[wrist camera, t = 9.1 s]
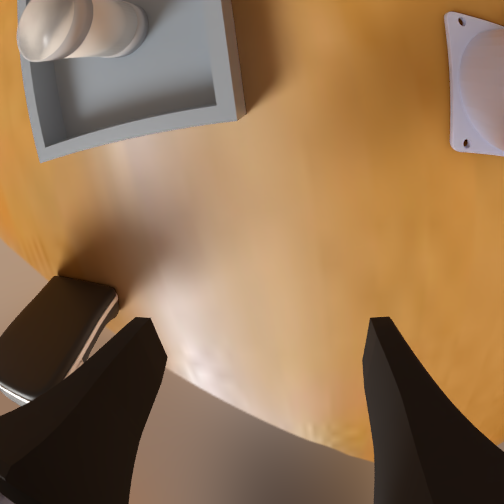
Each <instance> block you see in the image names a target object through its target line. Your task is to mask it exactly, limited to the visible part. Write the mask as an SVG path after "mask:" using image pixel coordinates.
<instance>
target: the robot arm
mask: <svg viewBox="0 0 504 504" xmlns="http://www.w3.org/2000/svg"><path fill="white" fill-rule="evenodd" d="M458 18H459V19H461V20H462V22H463V26H462V25H460V23H459V21H458ZM444 22H445V29H446V38H447V47H448V58H449V73H450V104H451V116H450V145H451V147H452V148H453V149H454V150H456V151H458V152H469V153H479V154H489V155H497V156H504V26H501V25H498V24H495V23H492V22H489V21H486V20H482V19H479V18H476V17H472V16H468V15H465V14H461V13H457V12H447V13H445V15H444ZM466 139H467V142H468V143H467V145H466V146H465V147H464V145H463V143H464V141H465V140H466ZM362 361H363V376H364V389H365V395H366V401H367V407H368V413H369V419H370V425H371V432H372V439H373V446H374V461H375V484H374V485H375V487H374V504H504V452H503V451H502V450H501V449H499V448H498V447H497V446H496V445H495V444H494V443H492V442H491V441H490V440H489V439H488V438H487V437H486V436H485V435H484V434H482V433H481V432H480V431H479V430H478V429H477V428H476V427H475V426H474V425H473V424H472V423H471V422H470V421H469V420H468V419H467V418H466V417H465V416H464V415H463V414H462V413H461V412H460V411H459V410H458V409H457V408H456V406H455V405H454V404H453V403H452V402H451V401H450V400H449V399H448V397H447V396H446V395H445V394H444V393H443V391H442V390H441V389H440V388H439V386H438V385H437V384H436V383H435V381H434V380H433V379H432V377H431V376H430V375H429V373H428V372H427V371H426V369H425V368H424V367H423V365H422V364H421V362H420V361H419V360H418V358H417V357H416V356H415V354H414V353H413V351H412V350H411V348H410V347H409V345H408V344H407V342H406V341H405V340H404V338H403V336H402V335H401V333H400V332H399V330H398V329H397V327H396V326H395V324H394V323H393V321H392V319H391V318H390V317H375V318H370V322H369V328H368V333H367V339H366V344H365V349H364V355H363V360H362ZM166 362H167V355H166V353H165V350H164V348H163V346H162V344H161V341H160V339H159V337H158V335H157V332H156V330H155V327H154V325H153V323H152V320H151V318H142V317H135V318H134V319H133V320H132V321H130V322H129V323H128V324H127V325H126V326H125V327H124V328H122V329H121V330H120V331H119V332H118V333H117V334H116V335H115V336H114V337H113V338H111V339H110V340H109V341H108V342H107V343H106V344H105V345H104V346H103V347H102V348H100V349H99V350H98V351H97V352H96V353H95V354H94V355H93V356H92V357H90V358H89V359H88V360H87V361H86V362H84V363H83V364H82V365H81V366H80V367H79V368H77V369H76V370H75V371H74V372H73V373H71V374H70V375H69V376H68V377H66V378H65V379H64V380H62V381H61V382H60V383H58V384H57V385H55V386H54V387H53V388H51V389H50V390H48V391H47V392H45V393H43V394H42V395H40V396H38V397H37V398H35V399H33V400H32V401H30V402H28V403H27V404H25V405H23V406H21V407H19V408H17V409H15V410H13V411H11V412H8V413H6V414H4V415H2V416H0V504H128V502H129V494H130V486H131V479H132V473H133V468H134V462H135V458H136V454H137V450H138V445H139V441H140V438H141V435H142V432H143V429H144V427H145V424H146V421H147V419H148V416H149V414H150V411H151V408H152V406H153V403H154V401H155V398H156V395H157V393H158V390H159V388H160V385H161V382H162V378H163V374H164V371H165V366H166Z"/></svg>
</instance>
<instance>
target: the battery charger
mask: <svg viewBox="0 0 504 504" xmlns="http://www.w3.org/2000/svg"><path fill="white" fill-rule="evenodd" d="M118 311H119V304H118V296H117V293H116V292H115V290H114V288H112V287H108V286H104V285H100V284H95V283H91V282H86V281H82V280H76V279H71V278H66V277H60V276H54V277H53V278H52V279H51V280H50V281H49V282H48V283H47V285H46V286H45V287H44V288H43V289H42V290H41V291H40V293H38V295H37V296H36V297H35V298H34V299H33V300H32V301H31V302H30V303H29V304H28V305H27V306H26V307H25V308H24V309H23V311H22V312H21V313H20V314H19V315H18V316H17V317H16V318H15V320H14V321H13V322H12V323H11V324H10V325H9V327H8V328H7V329H6V330H5V332H4V333H3V334H2V335H1V337H0V390H1V391H2V393H3V394H4V395H6V396H7V397H8V398H9V399H10V400H12V401H14V402H15V403H17V404H18V405H20V406H23V405H25V404H27V403H28V402H30V401H32V400H33V399H35V398H37V397H38V396H40V395H42V394H43V393H45V392H47V391H48V390H50V389H51V388H53V387H54V386H55V385H57V384H58V383H60V382H61V381H62V380H64V379H65V378H66V377H68V376H69V375H70V374H71V373H73V372H74V371H75V370H76V369H77V368H79V367H80V366H81V365H82V364H83V363H84V362H86V361H87V359H88V356H89V354H90V352H91V350H92V348H93V346H94V344H95V343H96V341H97V339H98V337H99V335H100V333H101V332H102V330H103V328H104V327H105V326H106V324H107V323H108V322H109V321H110V320H112V319H113V318H115V317H116V316H117V314H118Z"/></svg>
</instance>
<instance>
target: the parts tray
mask: <svg viewBox="0 0 504 504" xmlns="http://www.w3.org/2000/svg"><path fill="white" fill-rule="evenodd" d="M122 1H126V2H129V3H132V4H135V5H138V6H140V7H141V8H142V9H143V10H144V11H145V12H146V14H147V16H148V20H149V28H148V33H147V36H146V38H145V40H144V42H143V43H142V44H141V46H140V47H139V48H138V49H137V50H136V51H134V52H133V53H131V54H129V55H127V56H124V57H119V58H103V57H79V58H63V59H60V60H52V61H42V62H31V61H28V60H27V59H25V58H24V57H23V56H22V54H21V53H20V59H21V68H22V76H23V83H24V89H25V96H26V102H27V107H28V113H29V118H30V123H31V127H32V132H33V136H34V141H35V145H36V149H37V153H38V157H39V161H40V163H42V162H45V161H49V160H52V159H55V158H58V157H61V156H65V155H68V154H72V153H75V152H79V151H82V150H86V149H90V148H93V147H97V146H101V145H105V144H109V143H113V142H117V141H122V140H126V139H130V138H135V137H140V136H145V135H149V134H154V133H160V132H165V131H170V130H176V129H182V128H188V127H194V126H201V125H208V124H215V123H223V122H231V121H238V120H239V119H240V118H242V117H243V116H244V115H246V107H245V100H244V92H243V84H242V77H241V69H240V62H239V54H238V47H237V39H236V32H235V25H234V18H233V10H232V3H231V0H122ZM29 2H30V0H17V6H18V24H19V21H20V18H21V15H22V13H23V11H24V9H25V7H26V6H27V4H28V3H29Z"/></svg>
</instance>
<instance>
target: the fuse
mask: <svg viewBox="0 0 504 504" xmlns="http://www.w3.org/2000/svg"><path fill="white" fill-rule="evenodd" d="M148 28H149V20H148V16H147V14H146V12H145V11H144V10H143V9H142V8H141V7H140V6H138V5H135V4H132V3H129V2H126V1H122V0H30V2H29V3H28V4H27V6H26V7H25V9H24V11H23V13H22V15H21V18H20V21H19V24H18V29H17V44H18V48H19V51H20V53H21V54H22V56H23V57H24V58H25V59H27V60H28V61H31V62H42V61H52V60H60V59H63V58H79V57H103V58H119V57H124V56H127V55H129V54H131V53H133V52H134V51H136V50H137V49H138V48H139V47H140V46H141V44H142V43H143V42H144V40H145V38H146V36H147V33H148Z"/></svg>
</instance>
